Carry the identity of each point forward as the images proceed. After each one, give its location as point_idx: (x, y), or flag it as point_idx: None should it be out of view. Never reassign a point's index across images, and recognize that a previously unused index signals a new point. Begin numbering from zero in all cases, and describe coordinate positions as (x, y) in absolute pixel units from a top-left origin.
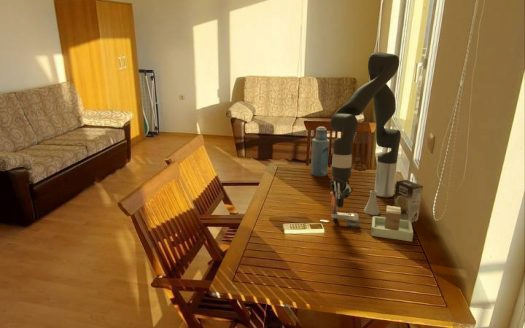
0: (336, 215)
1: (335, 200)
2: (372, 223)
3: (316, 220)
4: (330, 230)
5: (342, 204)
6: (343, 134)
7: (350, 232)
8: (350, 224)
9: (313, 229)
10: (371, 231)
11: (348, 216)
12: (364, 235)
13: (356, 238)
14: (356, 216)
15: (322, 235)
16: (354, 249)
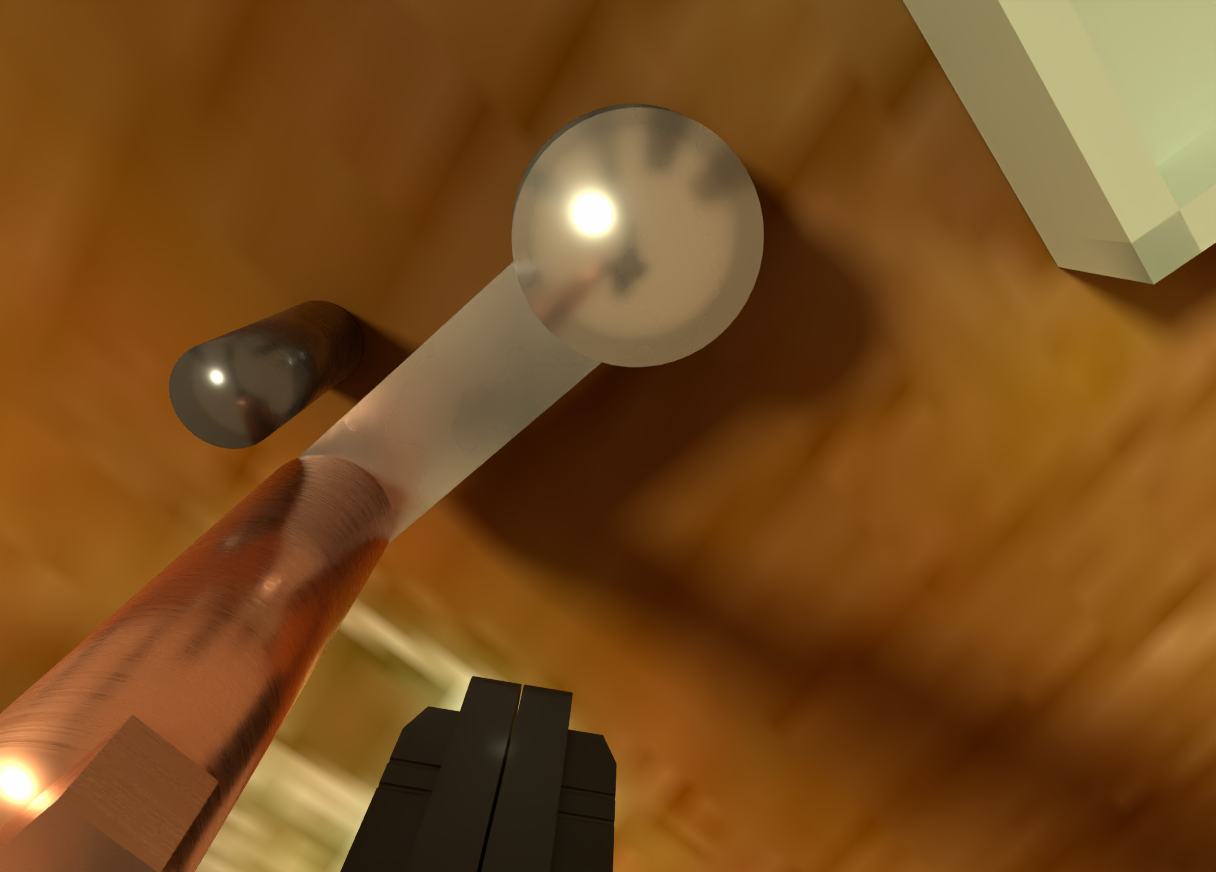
0: (417, 515)
1: (250, 775)
2: (1059, 96)
3: None
4: (564, 640)
5: (607, 802)
6: None
7: (779, 455)
8: None
9: None
10: (1104, 274)
11: (595, 363)
12: (981, 352)
13: (955, 521)
14: (734, 258)
15: (616, 803)
16: (1105, 742)
